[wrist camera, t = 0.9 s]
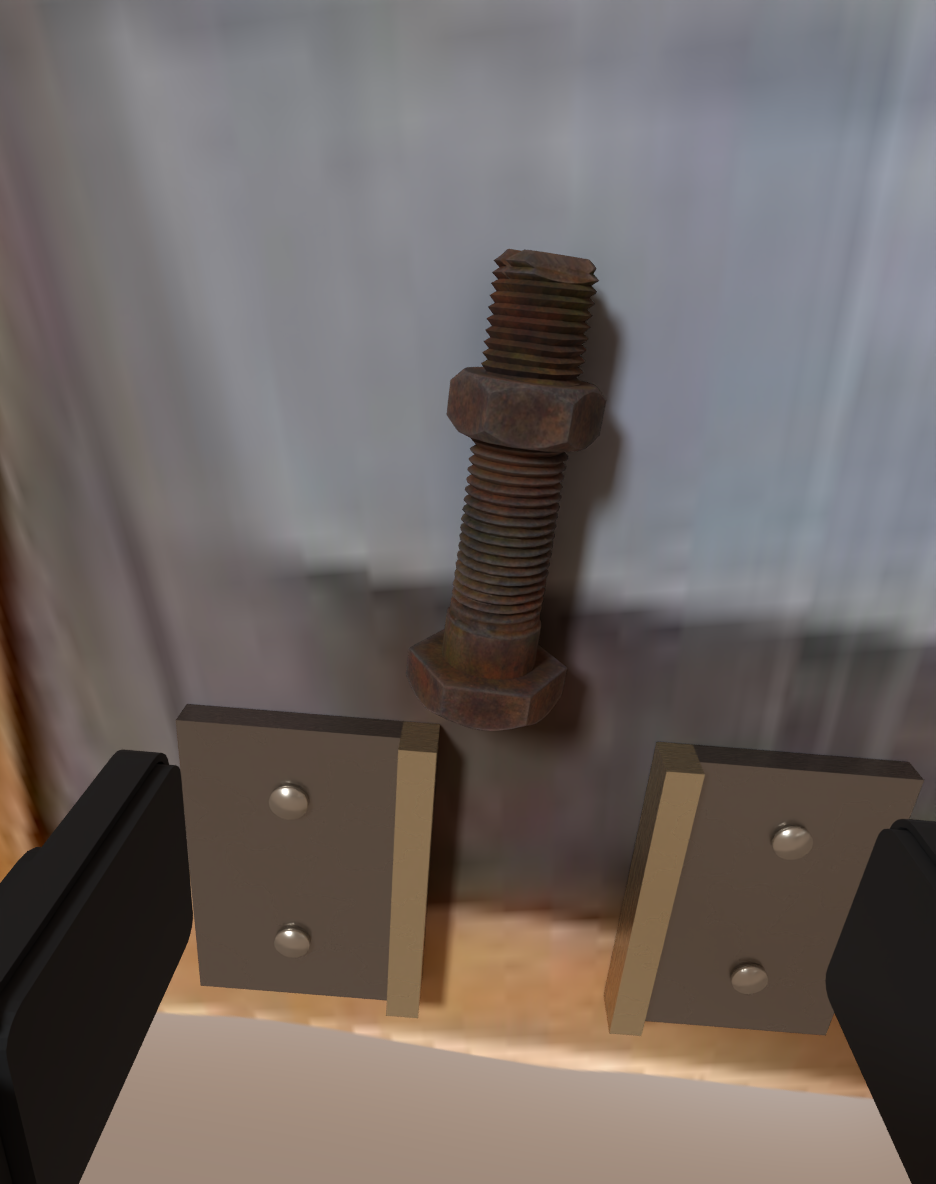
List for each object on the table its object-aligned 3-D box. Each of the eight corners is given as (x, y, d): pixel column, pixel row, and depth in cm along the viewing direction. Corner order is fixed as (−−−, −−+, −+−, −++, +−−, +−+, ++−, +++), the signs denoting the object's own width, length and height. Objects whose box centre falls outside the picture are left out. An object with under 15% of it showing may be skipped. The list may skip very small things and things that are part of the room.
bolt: (562, 262, 26) (501, 651, 32) (430, 241, 24) (389, 666, 29) (679, 270, 22) (583, 724, 27) (530, 244, 19) (458, 748, 25)
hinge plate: (908, 762, 31) (934, 792, 30) (815, 1012, 37) (832, 1051, 36) (186, 704, 31) (167, 731, 30) (209, 964, 37) (194, 1000, 36)
